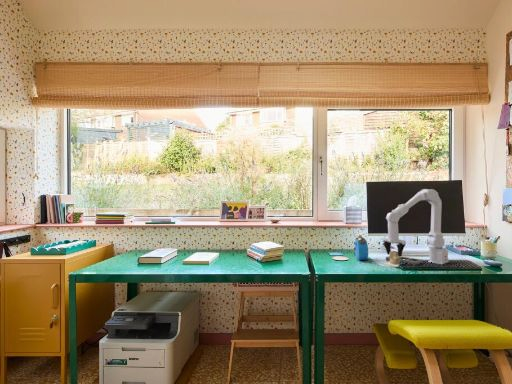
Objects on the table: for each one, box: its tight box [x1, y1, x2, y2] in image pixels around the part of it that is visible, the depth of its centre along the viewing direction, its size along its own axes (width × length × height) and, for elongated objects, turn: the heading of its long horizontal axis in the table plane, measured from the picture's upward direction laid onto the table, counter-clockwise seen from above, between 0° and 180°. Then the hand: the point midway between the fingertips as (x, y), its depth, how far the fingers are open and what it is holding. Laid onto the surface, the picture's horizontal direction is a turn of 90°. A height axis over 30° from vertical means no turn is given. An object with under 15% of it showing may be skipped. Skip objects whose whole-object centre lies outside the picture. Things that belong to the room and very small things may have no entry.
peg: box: [389, 250, 400, 265], centre depth 212 cm, size 4×4×7 cm
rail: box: [385, 255, 424, 265], centre depth 217 cm, size 20×8×2 cm, turn 33°
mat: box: [383, 261, 400, 268], centre depth 212 cm, size 9×9×1 cm
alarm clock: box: [354, 235, 369, 261], centre depth 229 cm, size 13×6×15 cm, turn 176°
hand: (394, 255), depth 212 cm, fingers open, 7 cm apart
